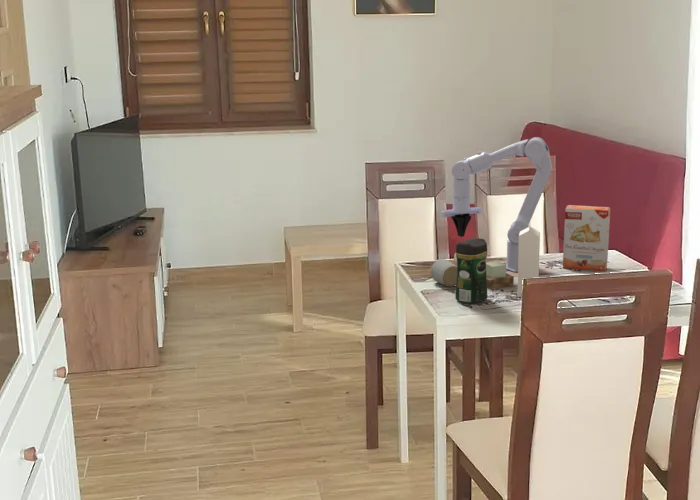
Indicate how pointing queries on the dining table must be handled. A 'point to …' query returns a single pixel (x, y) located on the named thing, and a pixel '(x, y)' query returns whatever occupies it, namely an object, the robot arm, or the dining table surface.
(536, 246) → the milk
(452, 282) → the ceramic mug
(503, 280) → the keypad frame
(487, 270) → the key sage
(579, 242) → the cracker box
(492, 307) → the dining table surface
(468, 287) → the coffee jar
